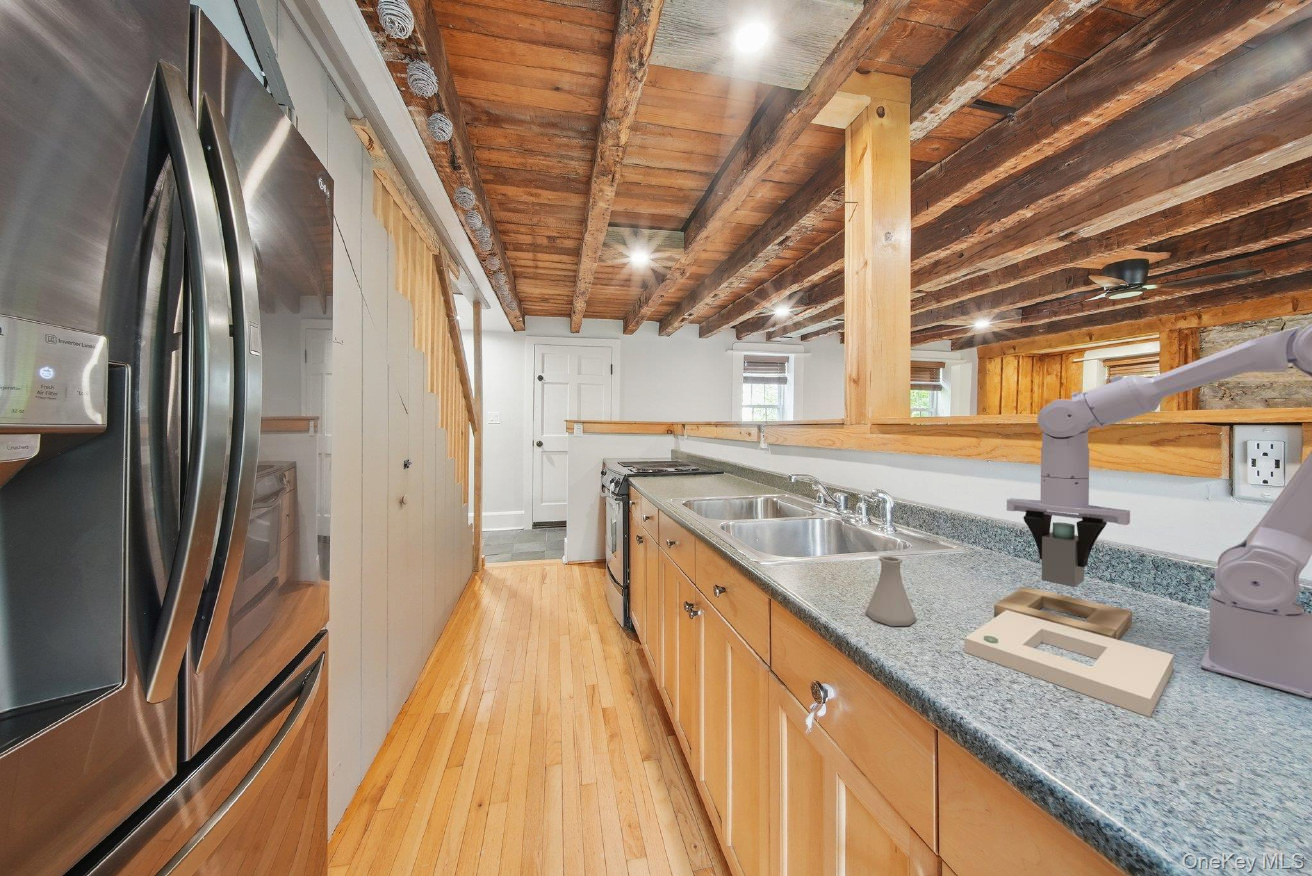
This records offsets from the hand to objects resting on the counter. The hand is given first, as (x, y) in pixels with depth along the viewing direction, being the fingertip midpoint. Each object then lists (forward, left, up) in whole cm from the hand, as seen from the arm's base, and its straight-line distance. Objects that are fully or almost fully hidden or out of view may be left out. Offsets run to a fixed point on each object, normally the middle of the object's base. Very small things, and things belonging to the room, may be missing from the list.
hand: (1063, 562), depth 73 cm
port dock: (-4, +14, -10) cm, 18 cm away
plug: (0, 0, -3) cm, 3 cm away
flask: (+18, +19, -10) cm, 28 cm away
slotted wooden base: (+1, -2, -10) cm, 10 cm away
